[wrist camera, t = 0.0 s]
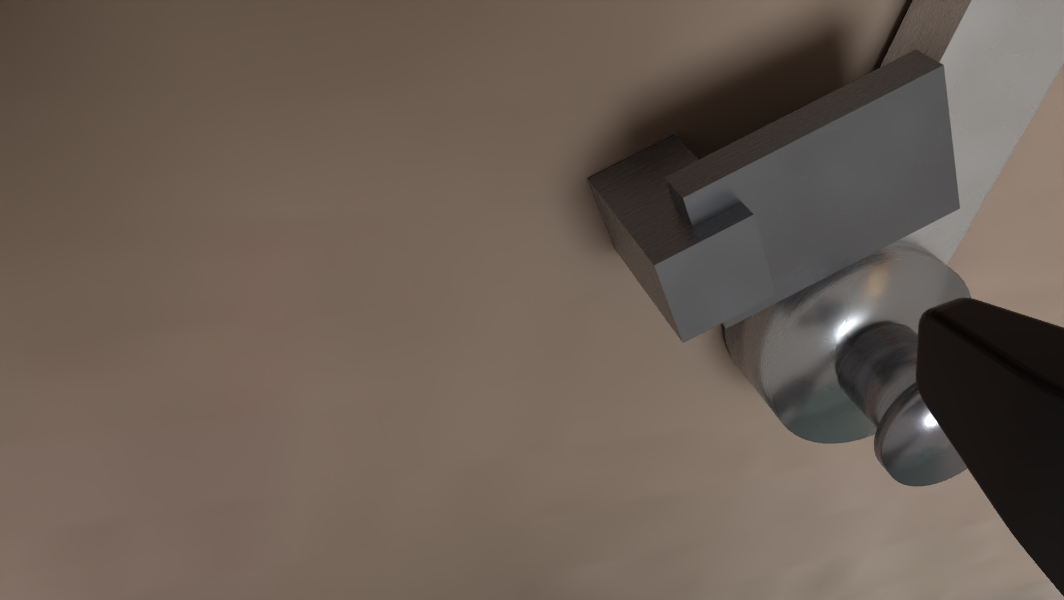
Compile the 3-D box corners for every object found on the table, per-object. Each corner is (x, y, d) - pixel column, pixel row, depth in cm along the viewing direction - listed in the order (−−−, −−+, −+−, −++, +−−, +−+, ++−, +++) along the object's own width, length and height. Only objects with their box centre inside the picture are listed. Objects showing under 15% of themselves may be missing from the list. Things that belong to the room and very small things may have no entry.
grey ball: (931, 386, 28) (1003, 457, 25) (821, 427, 27) (884, 504, 25) (938, 289, 26) (1017, 357, 23) (819, 333, 25) (887, 406, 23)
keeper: (874, 146, 27) (976, 220, 23) (625, 273, 27) (691, 366, 23) (852, 13, 24) (961, 75, 21) (577, 152, 24) (643, 237, 21)
